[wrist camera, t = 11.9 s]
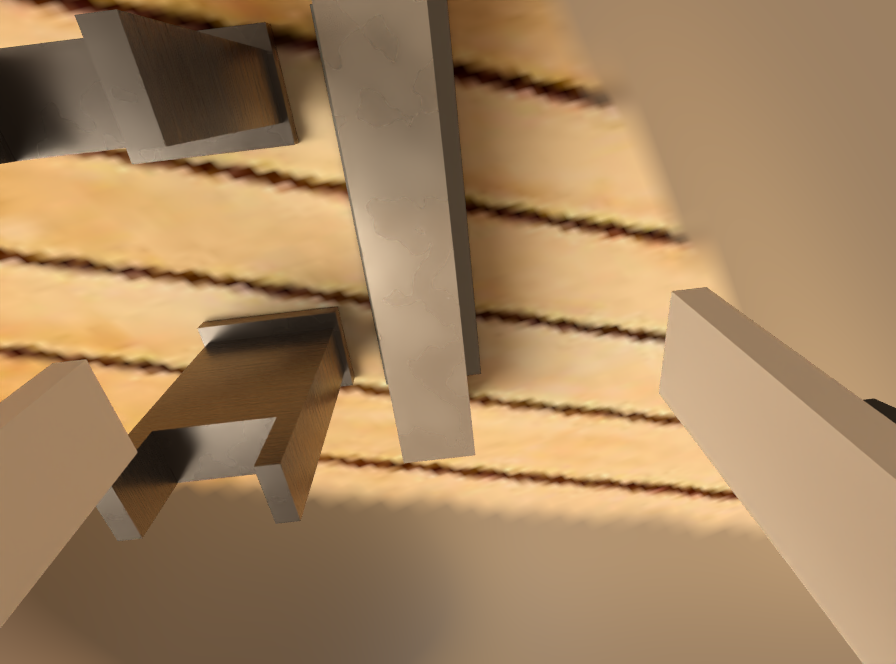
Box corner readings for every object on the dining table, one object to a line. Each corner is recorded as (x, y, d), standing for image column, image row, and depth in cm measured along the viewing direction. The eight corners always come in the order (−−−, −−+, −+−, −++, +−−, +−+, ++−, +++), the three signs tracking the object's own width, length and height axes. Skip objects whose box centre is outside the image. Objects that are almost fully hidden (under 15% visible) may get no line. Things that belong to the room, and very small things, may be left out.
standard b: (203, 322, 28) (62, 466, 17) (337, 306, 27) (280, 442, 17) (230, 392, 30) (120, 558, 19) (354, 377, 30) (314, 537, 19)
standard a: (96, 46, 21) (-238, -1, 11) (270, 24, 21) (110, -46, 10) (141, 162, 24) (-97, 219, 13) (298, 142, 23) (190, 184, 13)
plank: (311, 5, 21) (309, 4, 21) (445, -12, 21) (445, -13, 20) (387, 381, 30) (386, 384, 30) (480, 370, 30) (480, 373, 30)
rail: (322, -54, 20) (292, -98, 15) (417, -66, 20) (414, -113, 15) (407, 409, 31) (403, 463, 26) (468, 402, 30) (475, 455, 26)
